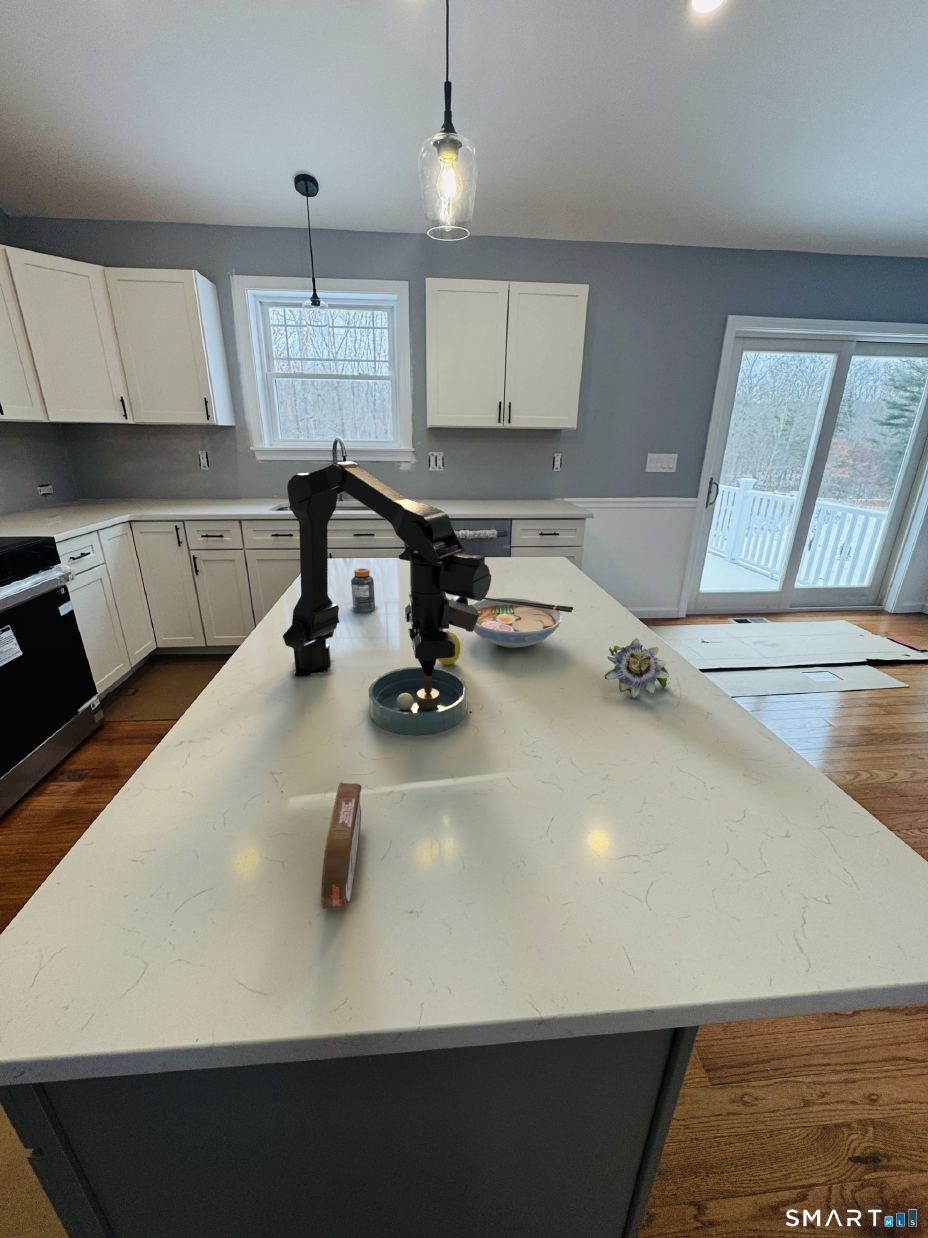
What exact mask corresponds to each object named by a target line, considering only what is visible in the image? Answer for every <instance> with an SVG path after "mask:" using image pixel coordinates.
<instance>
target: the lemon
mask: <svg viewBox="0 0 928 1238" xmlns="http://www.w3.org/2000/svg"><path fill="white" fill-rule="evenodd" d="M445 632H447V633H448V634H449V635H450V636H451V637H452V639H453V641H454V644H455V656H454V657H452V658H438V659H437V660H436V661H438V662H439V663H441V664H442V665H445V666H449V665H452V664H455V662H457V661H458V660H459V658H460V656H461V641H460V639H459V637H458V635H456V634H455V633H454V632H452V631H450V630H445Z"/></svg>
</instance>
